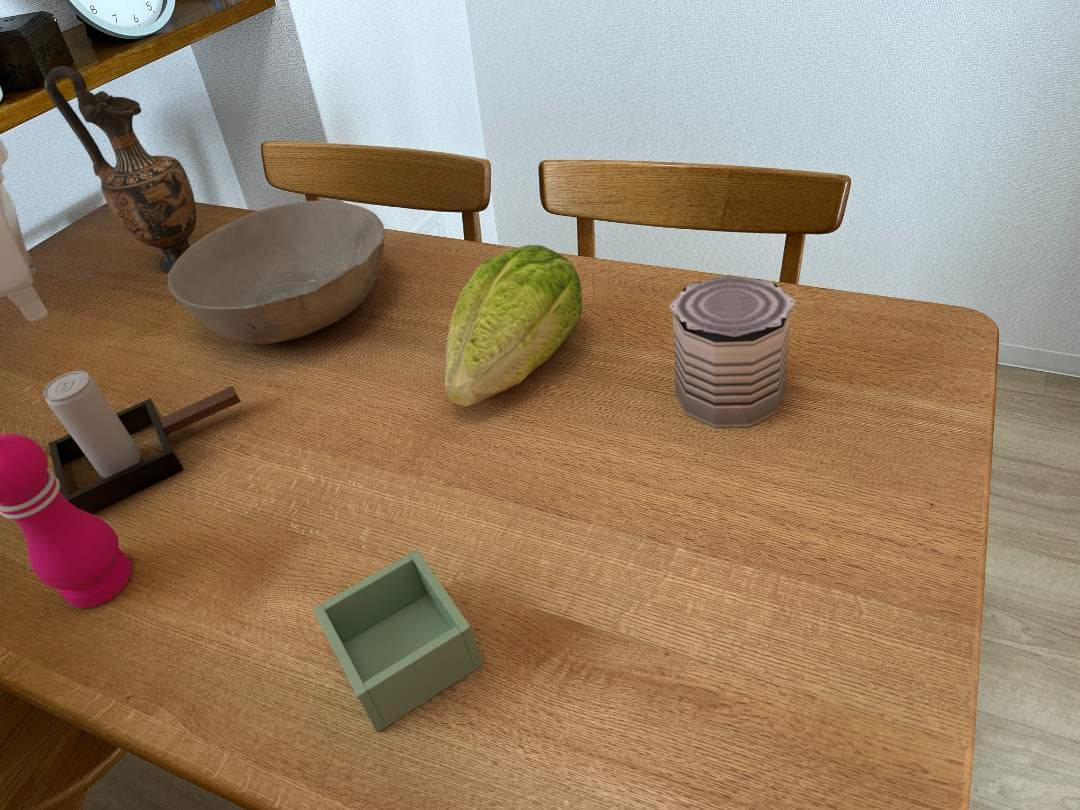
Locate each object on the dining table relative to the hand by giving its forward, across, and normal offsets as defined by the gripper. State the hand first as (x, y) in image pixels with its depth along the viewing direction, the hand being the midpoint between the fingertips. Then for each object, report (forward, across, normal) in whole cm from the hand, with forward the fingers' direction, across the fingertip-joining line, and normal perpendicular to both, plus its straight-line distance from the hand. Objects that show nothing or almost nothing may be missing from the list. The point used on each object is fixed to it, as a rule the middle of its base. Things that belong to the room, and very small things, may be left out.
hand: (33, 293), depth 75 cm
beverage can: (+23, -2, -2) cm, 23 cm away
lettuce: (+23, +13, +41) cm, 49 cm away
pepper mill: (+23, +14, -7) cm, 28 cm away
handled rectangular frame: (+23, -2, +2) cm, 23 cm away
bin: (+23, +40, +14) cm, 48 cm away
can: (+23, +33, +56) cm, 69 cm away
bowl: (+23, -18, +24) cm, 38 cm away
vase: (+23, -46, +14) cm, 53 cm away
